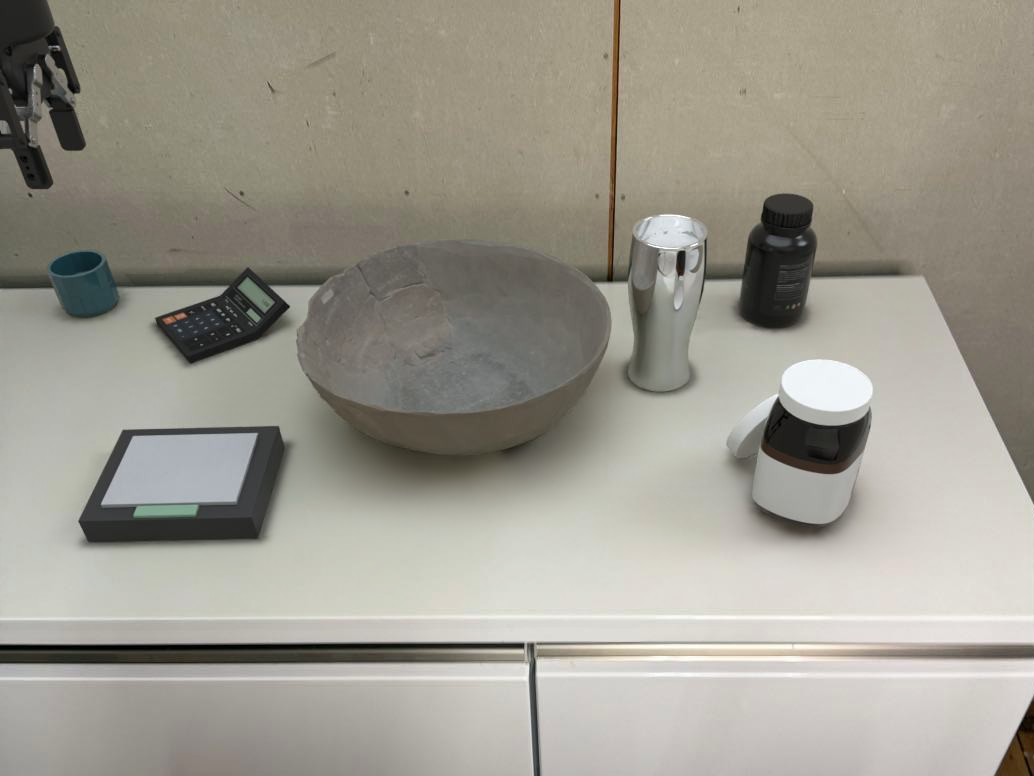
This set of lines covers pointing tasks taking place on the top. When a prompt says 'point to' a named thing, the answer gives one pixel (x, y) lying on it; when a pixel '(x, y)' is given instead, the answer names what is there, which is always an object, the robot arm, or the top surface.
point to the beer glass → (664, 297)
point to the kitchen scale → (184, 484)
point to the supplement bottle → (779, 262)
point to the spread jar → (807, 442)
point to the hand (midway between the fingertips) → (58, 167)
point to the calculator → (224, 318)
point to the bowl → (454, 344)
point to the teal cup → (83, 283)
